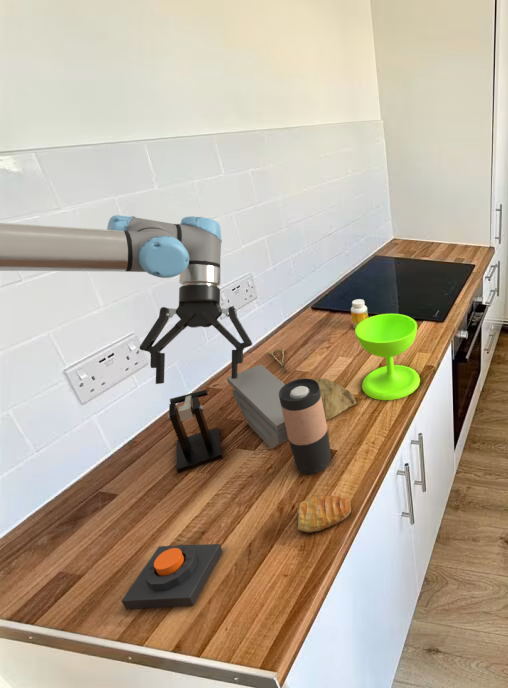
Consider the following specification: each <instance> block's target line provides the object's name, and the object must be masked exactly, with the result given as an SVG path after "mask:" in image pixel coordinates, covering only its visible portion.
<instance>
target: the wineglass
mask: <svg viewBox="0 0 508 688" xmlns="http://www.w3.org/2000/svg"><path fill="white" fill-rule="evenodd" d="M354 331H355V336H356V339H357V341H358V343H359V344H360V346H361V347H362V348H363V350H365V351H366V352H367V353H369V354H371V355H373V356H376V357H380V358H385V363H386V365H384V366H381V367H378V368H376V369H373V370H372V371H371V372H369V373H368V374H366V376H365V377H364V379H363V380H362V384H361V388H362V391H363V393H364V394H365V395H366V396H367V397H368V398H372V399H374V400H380V401H395V400H398V399H399V400H400V399H402V398H406V397H407V396H409V395H411V394H413V393H414V392H415V391H416V390H417V389H418V387H419V386H420V383H421V378H420V375H419V374H418V372H417V371H416V370H415V369H413V368H411V367H409V366H406V365H401V364H394V357H397V356H398V355H401V354H403V353H404V352H406V351H407V350H408V349H409V348H410V347H411V346H412V344H413V343H414V341H415V339H416V337H417V332H418V323H417V321H416V320H415V319H414V318H412V317H410V316H408V315H405V314H402V313H401V314H400V313H382V314H377V315H373V316H370V317H369V316H368V318H367V319H365V320H363V321H361V322H360V323H359V324H358V325H357V327H356V329H355V328H354Z"/></svg>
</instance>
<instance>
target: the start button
mask: <svg viewBox="0 0 508 688" xmlns="http://www.w3.org/2000/svg"><path fill="white" fill-rule="evenodd" d="M183 563H184V556H183V554H182V552H181V550H180V549H178V548H171V549H168V550H166V551H164V552H163V553H161V554H160V555H159V556H158V557H157V558H156V560H155V562H154V567H155V569H156V571H157V573H158V575H160V576H168V575H170V574H173V573H174V572H176V571H177V570H178V569H179V568H180V567H181V566H182V565H183Z"/></svg>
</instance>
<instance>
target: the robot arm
mask: <svg viewBox="0 0 508 688" xmlns="http://www.w3.org/2000/svg"><path fill="white" fill-rule="evenodd" d="M221 230H222V229H221V225H220V223H219V222H218V221H217V220H215V219H212V218H209V217H204V216H185V217H183V218H181V220H180V223H171V222H165V221H159V220H153V219H149V218H148V219H147V218H142V217H137V216H133V215H131V216H127V215H120V214H119V215H118V214H115V215H112V216H111V217H110V218H109V220H108V223H107V228H106V229H103V228H87V227H71V226H57V225H54V226H53V225H40V224H26V223H8V222H0V271H1V272H5V271H6V272H115V273H117V272H121V273H122V272H124V273H125V272H126V273H128V272H130V273H147V274H149V275H151V276H154V277H157V278H160V279H161V278H162V279H169V278H174V277H177V276H179V280H178V284H181V286H180V287H178V306H177V308H168V307H166V306H161V308H160V309H159V313H158V315H159V316H158V318H157V319H156V320H155V323H154V324H153V326H152V327H151V329H150V330H149V332H148V333H147V335H146V336H145V338H144V339H143V340H142V342H141V344H140V345H139V350H141V351H144V352H148V353H149V354H150V360H149V361H150V362H149V363H150V364H149V365H150V368H151V369H155V385H161V384H165V367H166V366H165V364H166V363H165V362H166V353H165V352H162V351H163V350H164V349H165V348H166V347H167V346H168V345H169V344H170V343H171V342H172V341H173V340H174V339H175V338H176V337H178V335H179V334H180V333H181V332H182V331H184V330H185V329H186V328H187V327H189V328H209V327H212V326H213V328H215V329H216V330H217V331H218V332H219V333H220V334H221V335H222V336H223V337H224V338H225V339H226V340H227V341H228V342H229V343H230V344H231V345H232V346H233V347H234V348H235V349H231V376H232V379H236V378H237V374H238V364H243V362H244V350H245V349H246V348H248V347H251V346H253V342H252V340H251V338H250V337H249V335H248V333H247V332H246V330H245V328H244V326H243V325H242V323H241V321H240V319H239V318H238V312H237V308H235V307H234V306H229V307H223V308H222V307H221V288H220V287H218V286H220V285H221V256H222V255H221V254H222V253H221V252H222V231H221ZM222 314H224V315H225V317H227V318H229V320H230V321H231V323H232V324H233V326H234V328H235V330H236V333H238V335H239V336H240V338H241V340H242V342H240V341H239V340H238V339H237V338H236V337H235V336H234V335H233V334H232V333H231V332H230V331H229V330H228V329H227V328H226V327H225V326H224V325H223V324H222V323H221V322H220V321H219V320H218V319H220V317H221V316H222ZM174 315H176V316H177V317H178V318H179V320H178V321H177V322H176V323H175V324H174V326H173V327H172V328H171V329H170V330H169V331H167V332H166V333H165V334H164V336H163V337H161V338H160V339H159V340H158V341H157V342H156V340H157V338H158V337H159V336H160V334H161V333H162V331H163V330H164V328H165V327H166V325H167V324H168V322H169V320H170V319H171V318H173V317H174Z"/></svg>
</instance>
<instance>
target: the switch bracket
mask: <svg viewBox="0 0 508 688" xmlns="http://www.w3.org/2000/svg"><path fill="white" fill-rule="evenodd" d="M199 399H200V398H198V397H194V398H192V408H193V411H194V418H195V420H196V423H197V425H198V429H199V432H198V433H194V434H192V435H189V436H188V433H187V431H186V429H185V426H184V423H183V421H181V420H180V417H179V413H178V409H179V408H178V407H177V404H175V403H172V404H171V403H169V404H168V405H169V406H168V407H169V408H168V409H169V410H168V414H167V419H168V421H170V422H171V425H172V427H173V430H174V433H175V435H176V438H177V439H176V465H175V467H176V472H177V474H181V473H182V472H183V473H184V472H186V471H189V470H192V469H194V468H198V467H200V466H205V465H206V464H210V463H213V462H215V461H218V460H222V459H223V451H222V442H221V433H220V429H219V427H214V428H210V429H209V425H208V423H207V420H206V418H205V414H204V411H205V409H204V405H203V404H201V402H200V400H199Z"/></svg>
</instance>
